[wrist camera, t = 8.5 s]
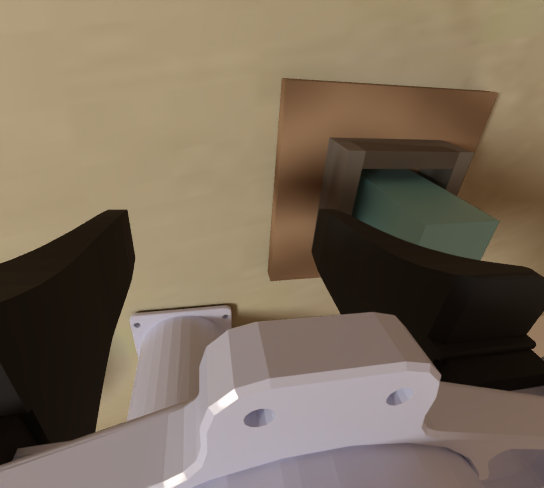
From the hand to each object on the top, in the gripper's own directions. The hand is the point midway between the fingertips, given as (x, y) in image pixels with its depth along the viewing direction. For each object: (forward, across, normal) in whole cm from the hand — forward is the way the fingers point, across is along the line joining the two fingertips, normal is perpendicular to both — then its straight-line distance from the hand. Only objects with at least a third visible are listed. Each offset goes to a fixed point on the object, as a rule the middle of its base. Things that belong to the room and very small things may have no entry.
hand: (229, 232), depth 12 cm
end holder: (+9, -11, +2) cm, 15 cm away
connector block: (+8, -11, +2) cm, 14 cm away
